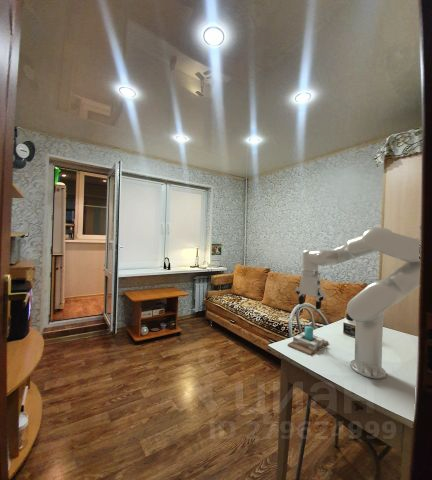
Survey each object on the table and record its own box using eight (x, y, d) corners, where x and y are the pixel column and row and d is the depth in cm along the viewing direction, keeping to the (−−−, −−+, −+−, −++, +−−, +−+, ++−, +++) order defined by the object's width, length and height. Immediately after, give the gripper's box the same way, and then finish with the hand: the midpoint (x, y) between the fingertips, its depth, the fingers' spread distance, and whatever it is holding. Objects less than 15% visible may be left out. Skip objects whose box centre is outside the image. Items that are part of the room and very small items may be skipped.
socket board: (310, 355, 106) (310, 348, 106) (287, 345, 115) (287, 339, 115) (328, 343, 119) (328, 336, 119) (306, 335, 128) (306, 329, 128)
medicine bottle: (342, 333, 132) (343, 313, 132) (347, 330, 136) (347, 311, 136) (356, 338, 126) (357, 317, 126) (360, 334, 131) (361, 314, 131)
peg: (312, 345, 114) (312, 329, 114) (304, 343, 116) (304, 328, 116) (313, 342, 118) (313, 326, 118) (304, 340, 119) (305, 325, 119)
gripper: (330, 275, 112) (329, 309, 112) (300, 271, 126) (299, 301, 126) (321, 276, 107) (321, 312, 107) (291, 272, 122) (291, 303, 122)
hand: (309, 306), depth 117 cm, fingers open, 9 cm apart
